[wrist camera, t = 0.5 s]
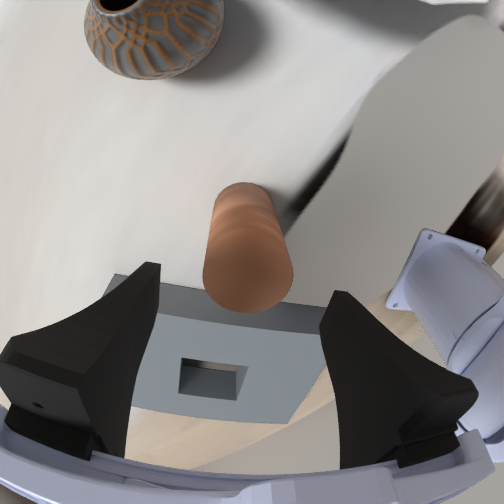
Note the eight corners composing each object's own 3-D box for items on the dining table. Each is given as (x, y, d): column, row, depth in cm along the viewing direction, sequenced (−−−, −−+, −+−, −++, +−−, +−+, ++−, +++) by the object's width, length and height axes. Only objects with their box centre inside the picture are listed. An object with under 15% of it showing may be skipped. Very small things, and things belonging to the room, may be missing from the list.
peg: (279, 189, 20) (304, 246, 13) (265, 241, 21) (279, 317, 14) (219, 177, 19) (209, 229, 12) (209, 232, 21) (197, 306, 14)
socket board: (330, 307, 25) (341, 336, 22) (283, 398, 31) (287, 423, 28) (114, 273, 22) (99, 301, 19) (124, 377, 29) (117, 402, 26)
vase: (162, 104, 16) (106, 113, 9) (99, 38, 14) (18, 18, 6) (249, 34, 14) (261, -14, 7) (180, -30, 12) (146, -98, 4)
